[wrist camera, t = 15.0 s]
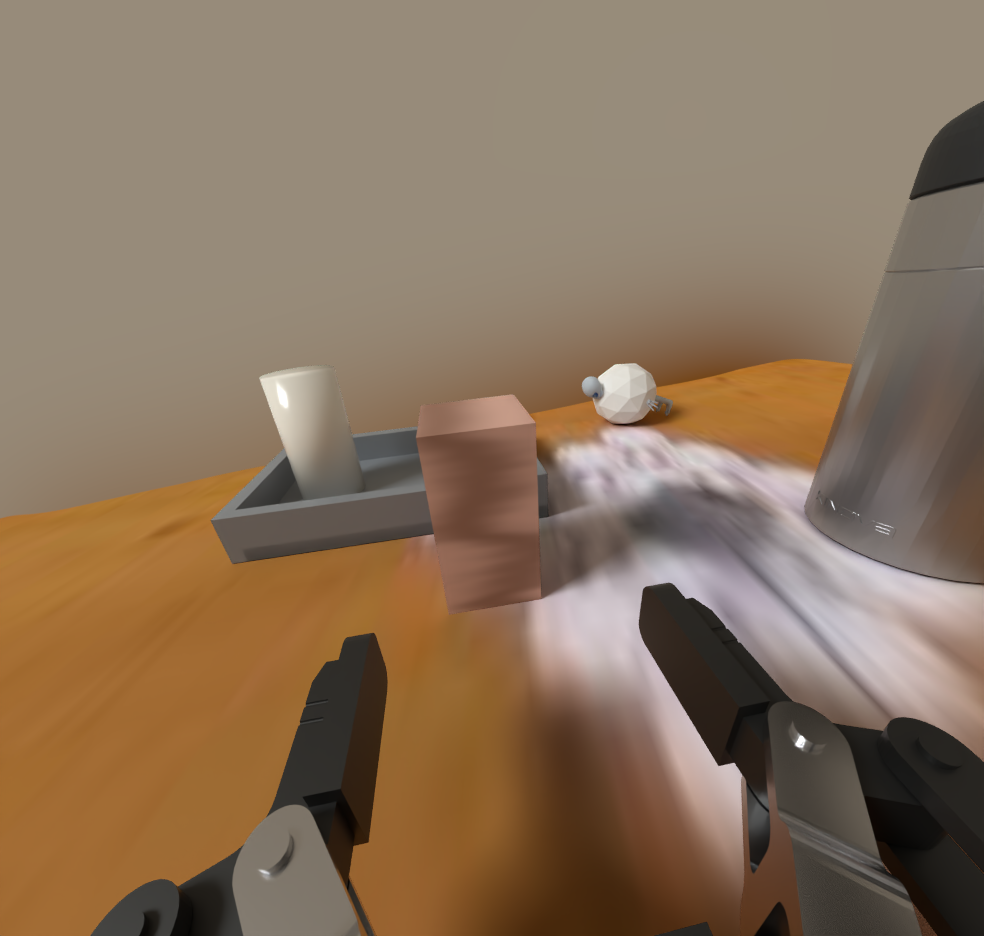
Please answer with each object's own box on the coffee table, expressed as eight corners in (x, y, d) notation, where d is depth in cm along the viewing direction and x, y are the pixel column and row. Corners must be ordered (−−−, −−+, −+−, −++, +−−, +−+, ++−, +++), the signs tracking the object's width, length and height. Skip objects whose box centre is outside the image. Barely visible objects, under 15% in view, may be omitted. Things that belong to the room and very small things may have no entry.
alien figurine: (635, 423, 49) (558, 406, 44) (656, 370, 46) (578, 347, 42) (675, 442, 42) (590, 425, 38) (703, 382, 40) (616, 356, 35)
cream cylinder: (369, 474, 33) (341, 362, 29) (359, 501, 29) (323, 374, 24) (313, 481, 33) (276, 369, 29) (294, 510, 28) (246, 383, 24)
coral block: (521, 542, 24) (513, 394, 20) (541, 599, 20) (535, 422, 15) (446, 554, 24) (421, 405, 19) (448, 614, 19) (416, 437, 15)
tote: (512, 446, 39) (510, 415, 38) (548, 516, 26) (547, 473, 25) (301, 473, 37) (290, 442, 36) (232, 563, 25) (210, 520, 23)
